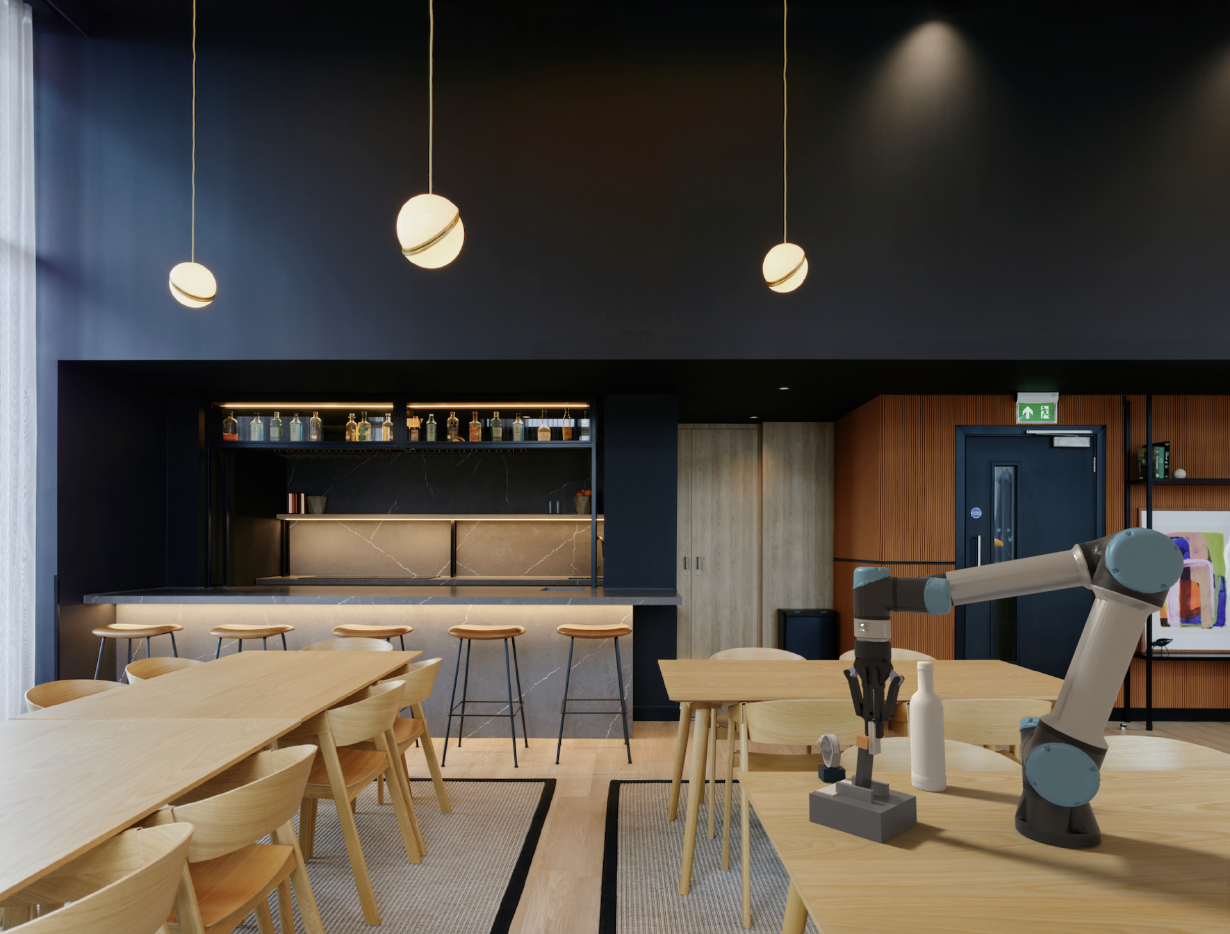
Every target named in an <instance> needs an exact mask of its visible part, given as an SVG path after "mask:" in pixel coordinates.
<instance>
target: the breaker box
mask: <svg viewBox="0 0 1230 934" xmlns="http://www.w3.org/2000/svg"><path fill="white" fill-rule="evenodd" d="M855 780H856V774H854V775H851V779H849V778H846V779H844V780H842V781H838V782H836V783H832V784H829V785H826V786H824V787H822V788H819V789H817V790H815V791H814V790H813V791H811V792H810V793H808V803H809V806H808V807H809V809H808V810H809V811H808V812H809V818H808V819H809V822H811V823H815V824H818V825H820V826H825V827H827V828H828V827H829V828H831V829H835V830H837V831H840V832H844V833H847V834H851V835H854V836H857V837H859V838H860V837H861V838H863V839H866V840H869V841H873V842H875V843H876V842H877V843H879V844H883V843H885V842H886V841H888V840H890V839H893V837H896V836H897V835H899V834H901V833H902V832H904V831H906V830H908V829H910V828H912V827H913V826H915V825H917V824H918V813H917V812H918V811H917V795H913V794H910V793H906V792H902V791H897V790H894V789H890V783H887V782H884V781H880V780H876V779H872V781H871V788H868V789H867V788H863V787H859V786H855Z"/></svg>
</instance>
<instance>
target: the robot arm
mask: <svg viewBox="0 0 1230 934" xmlns="http://www.w3.org/2000/svg"><path fill="white" fill-rule="evenodd" d="M1184 566H1185V561H1184V556H1183V553H1182V551H1181V548H1179V546H1178V545H1177V543H1176V542H1175V541H1174V540H1173V539H1172V538H1171V537H1169V536H1168V535H1166V534H1164V533H1162V532H1160V531H1157V530H1155V529H1153V528H1152V529H1151V528H1146V527H1139V526H1138V527H1130V528H1126V529H1123V530H1118V531H1116V532H1114V533H1113V532H1112V533H1111V534H1109V535H1106V536H1103V537H1100V538H1097V539H1094V540H1091V541H1086V542H1081V543H1076V544H1074V546H1073V547H1072V549H1070V550H1065V551H1064V550H1063V551H1058V552H1052V553H1051V552H1050V553H1046V554H1042V555H1036V556H1035V555H1034V556H1030V557H1025V558H1018V559H1012V560H1006V561H1002V562H995V563H989V564H985V565H978V566H973V567H968V568H962V569H956V570H951V571H945V572H940V573H933V574H929V575H928V574H927V575H926V574H924V575H920V576H916V577H914V576H913V577H910V576H909V577H907V576H906V577H905V576H903V577H902V576H901V577H900V576H893V575H891V573H890V569H889V568H888V567H877V566H859V567H858V566H857V567H856V568H855V569H854V571H853V586H852V595H853V596H852V597H853V598H852V599H853V630H854V631H853V632H854V633H853V635H854V637H856V639H854V641H853V642H854V643H853V644H854V647H853V649H854V651H853V652H854V661H853V665H852V666H850V667H849V668H847V669H843V671H842V673H843V675H844V676H845V678H846V680H847V683H848V686H849V691H850V695H851V699H852V704H853V709H854V712H855V715H856V716H857V717H860V718H862V720H864V733H865V735H866V736H869V754H872V755H874V756H876V755H879V754H881V752H882V751H881V750H882V747H881V745H882V742H881V739H884V737H885V722H889V721H891V720H893V719H894V715H895V711H896V706H897V702H898V698H899V692H900V688H901V686H902V685H903V683H904V682H905V676H904V675H903V674H901V675H900V674H899V673H897V672H896V671H895V669H894V666H893V663H892V658H893V656H892V642H891V641H890V639H891V638H892V628H891V627H892V626H891V624H892V623H891V619H892V618H891V615H892V614H891V613H906V614H907V613H909V614H922V615H931V616H936V615H937V616H938V615H948V614H950V613H951V611H952V607H953V606H959V605H966V604H972V603H979V602H986V601H992V600H998V599H1005V598H1013V597H1018V596H1025V595H1031V594H1038V593H1044V592H1050V591H1057V590H1063V589H1067V588H1068V589H1069V588H1077V587H1084V588H1086V589H1088V590H1092V592H1093V593H1094V595H1095V599H1094V601H1093V604H1092V606H1091V608H1090V609H1091V610H1090V612H1089V615H1088V617H1087V620H1086V622H1085V624H1084V628H1083V630H1082V633H1081V636H1080V638H1079V640H1078V643H1077V646H1076V649H1075V651H1074V654H1073V657H1072V658H1071V662H1070V664H1069V666H1068V669H1067V672H1066V675H1065V677H1064V680H1063V683H1062V685H1061V688H1060V691H1059V692H1058V693H1059V694H1058V696H1057V699H1056V701H1055V704H1054V706H1053V709H1052V711H1051V712H1050V713H1047V714H1043V715H1041V716H1023V717H1022V718H1021V719H1020V722H1019V723H1020V724H1019V725H1020V726H1019V728H1018V730H1019V733H1020V753H1021V756H1020V757H1021V776H1022V792H1021V795H1020V798H1019V801H1018V805H1017V808H1016V810H1015V814H1014V827H1015V830H1016V831H1017V832H1018V833H1020V834H1022V835H1023V836H1025V837H1027V838H1030V839H1033V840H1034V841H1037V842H1040V843H1044V844H1048V845H1053V846H1057V847H1064V848H1071V849H1072V848H1073V849H1090V848H1091V849H1092V848H1095V847H1098V846H1100V845H1101V843H1102V837H1101V835H1102V834H1101V833H1102V832H1101V829H1100V826H1099V824H1098V821H1097V819H1096V816H1095V813H1094V811H1093V808H1092V806H1091V803H1090V801H1092V800H1093V799H1094V798H1095V797H1096V795H1097V794H1098V791H1099V789H1100V786H1101V773H1100V771H1101V768H1102V766H1103V763H1104V760H1105V758H1106V755H1107V752H1108V749H1109V744H1108V743H1107V740H1106V739H1105V736H1104V732H1105V729H1106V726H1107V724H1108V721H1109V720H1110V716H1111V714H1112V712H1113V708H1114V706H1115V704H1116V701H1117V698H1118V695H1119V693H1120V690H1121V688H1122V685H1123V682H1124V679H1125V677H1126V674H1127V672H1128V670H1129V666H1130V664H1131V661H1132V659H1133V657H1134V654H1135V651H1136V648H1137V646H1138V643H1139V642H1140V638H1141V636H1142V634H1143V630H1144V628H1145V625H1146V623H1147V620H1148V617H1149V616H1150V615H1151V614H1154V613H1157V612H1159V611H1162V610H1163V607H1164V605H1165V602H1166V599H1167V597H1168V594H1169V592H1170V589H1171V588H1172V587H1173V586H1175V584H1176V583H1178V581H1179V579H1180V578H1181V577H1182V574H1183V572H1184ZM858 677H859V678H860V679H861V680H860V681H861V685H860V681H859V678H858ZM887 680H889V682H890V684H889V686H888V689H887V696H886V697H885V695H886V694H885V691H886V690H885V689H886V685H887V684H886V683H887ZM861 688H862V689H861ZM885 698H886V699H885Z"/></svg>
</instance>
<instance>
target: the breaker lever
mask: <svg viewBox="0 0 1230 934" xmlns="http://www.w3.org/2000/svg"><path fill="white" fill-rule="evenodd" d="M855 743H856V744H855V746H856V748H858V749H857V759H856V767H855V768H856V770H855V775H856V780H855V786H859V787H863V788H867V789H868V788H871V781H872V780H873V768H874V756H875V755H872V754H869V736H866V735H865V732H862V733H859V734H856V742H855Z"/></svg>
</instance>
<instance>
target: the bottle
mask: <svg viewBox="0 0 1230 934" xmlns="http://www.w3.org/2000/svg"><path fill="white" fill-rule="evenodd" d="M916 663H917V664H916V665H917V666H916V670H917V691H915V692H914V693H913V694H912V696H911V697H910V702H909V728H910V729H909V730H910V731H909V732H910V737H909V738H910V764H911V766H910V768H911V770H910V780H911V785H912V787H914V788H915V789H917V790H920V791H925V792H930V793H931V792H932V793H941V792H944V791H946V790H947V774H946V770H947V769H946V748H945V747H946V746H945V744H946V743H945V719H944V717H945V716H944V703H943V701H942V699H941V697H940V696H939V694H937V693H936V692H935V690H934V686H935V685H934V670H935V668H934V663H933V662H931V661H927V660H926V661H925V660H924V661H923V660H921V661H920V660H918V661H917V662H916Z"/></svg>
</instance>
